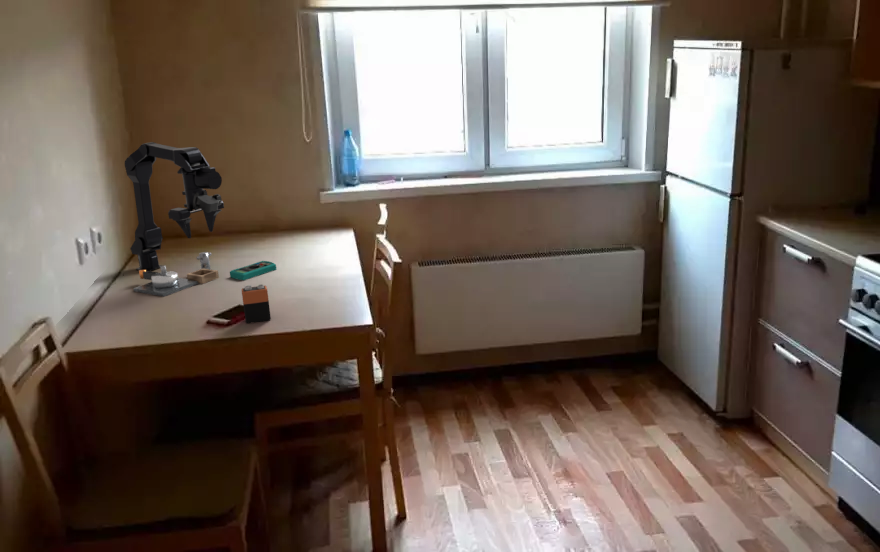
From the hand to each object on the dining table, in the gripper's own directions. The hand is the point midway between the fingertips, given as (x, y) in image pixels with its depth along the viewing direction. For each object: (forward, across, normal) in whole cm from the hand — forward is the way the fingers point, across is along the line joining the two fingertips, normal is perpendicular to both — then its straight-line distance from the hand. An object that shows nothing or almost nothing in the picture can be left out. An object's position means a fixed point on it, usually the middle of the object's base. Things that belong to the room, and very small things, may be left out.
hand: (200, 234), depth 254 cm
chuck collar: (+13, -13, +8) cm, 20 cm away
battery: (+15, -24, -46) cm, 54 cm away
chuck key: (+15, +4, +4) cm, 16 cm away
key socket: (+15, -2, -1) cm, 15 cm away
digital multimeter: (+15, +10, -12) cm, 22 cm away
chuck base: (+15, -13, +4) cm, 20 cm away
